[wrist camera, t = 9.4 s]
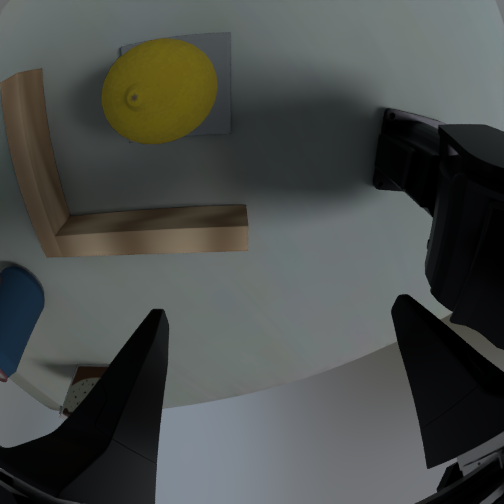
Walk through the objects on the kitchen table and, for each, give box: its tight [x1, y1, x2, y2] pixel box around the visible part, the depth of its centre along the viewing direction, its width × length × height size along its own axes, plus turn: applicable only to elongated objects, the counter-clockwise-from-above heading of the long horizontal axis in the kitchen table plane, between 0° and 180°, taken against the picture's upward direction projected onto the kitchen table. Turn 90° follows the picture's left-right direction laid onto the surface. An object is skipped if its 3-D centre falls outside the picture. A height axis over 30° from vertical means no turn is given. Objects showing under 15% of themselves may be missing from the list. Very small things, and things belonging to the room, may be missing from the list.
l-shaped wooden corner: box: [0, 68, 248, 257], centre depth 15 cm, size 17×15×3 cm
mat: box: [121, 32, 231, 143], centre depth 14 cm, size 7×7×1 cm
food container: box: [59, 364, 109, 420], centre depth 32 cm, size 12×6×10 cm, turn 101°
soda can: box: [0, 265, 44, 382], centre depth 19 cm, size 7×7×12 cm
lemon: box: [102, 38, 218, 144], centre depth 11 cm, size 6×6×8 cm
